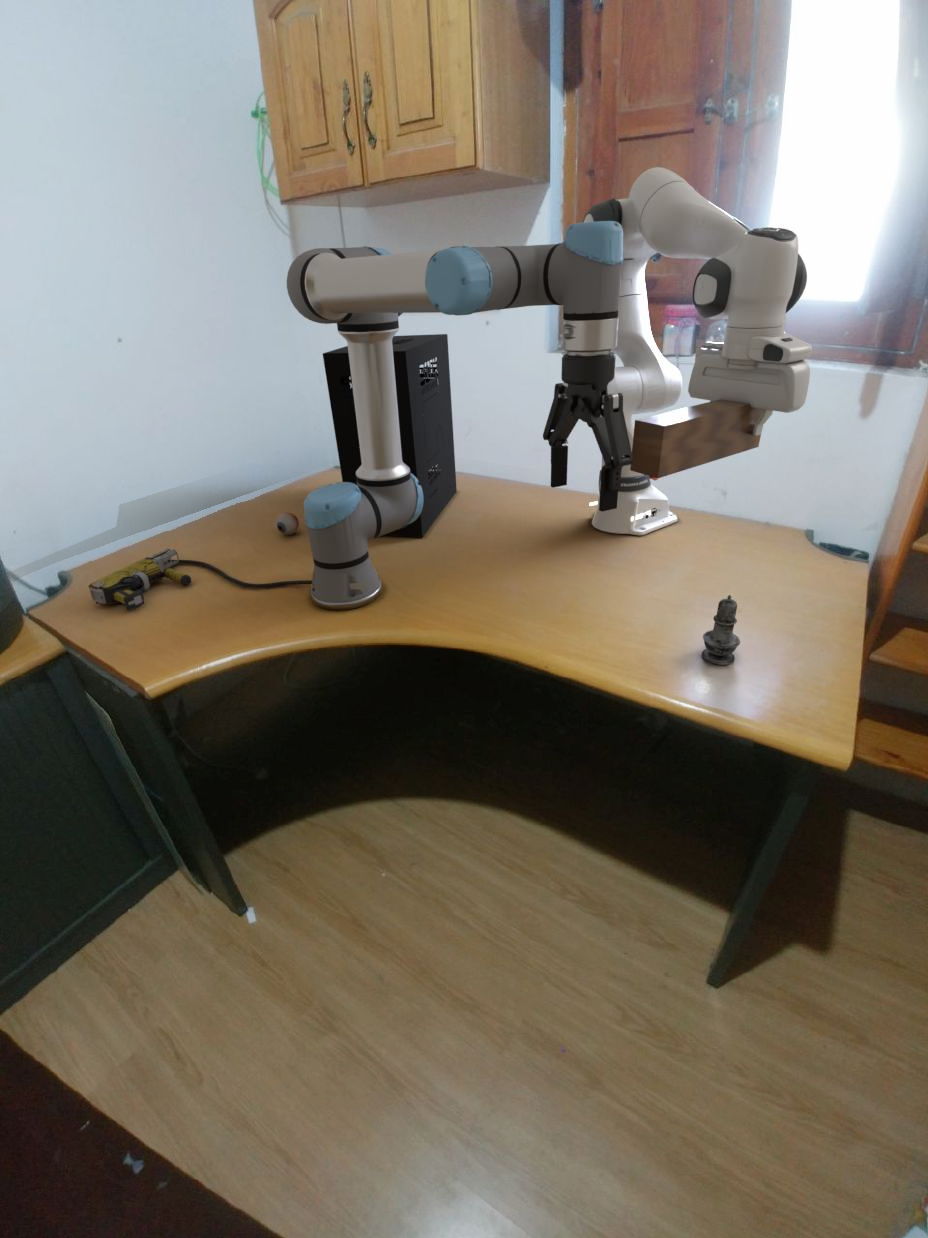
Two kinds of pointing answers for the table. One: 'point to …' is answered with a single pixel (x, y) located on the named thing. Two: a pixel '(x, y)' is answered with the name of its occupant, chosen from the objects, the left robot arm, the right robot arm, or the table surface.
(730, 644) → the dark grey tiered figure
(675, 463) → the bar
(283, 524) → the eyeball
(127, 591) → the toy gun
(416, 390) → the black computer tower
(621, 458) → the left robot arm
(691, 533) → the table surface
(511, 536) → the table surface
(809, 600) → the table surface
